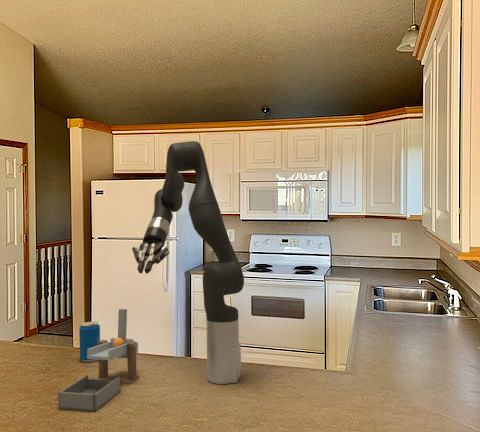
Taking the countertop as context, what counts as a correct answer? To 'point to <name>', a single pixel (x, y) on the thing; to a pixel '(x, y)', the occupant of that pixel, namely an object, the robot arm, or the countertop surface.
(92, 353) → the chute
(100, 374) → the stand
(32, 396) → the countertop surface
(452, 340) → the countertop surface
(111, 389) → the shallow gray tray
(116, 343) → the ball
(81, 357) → the beverage can
